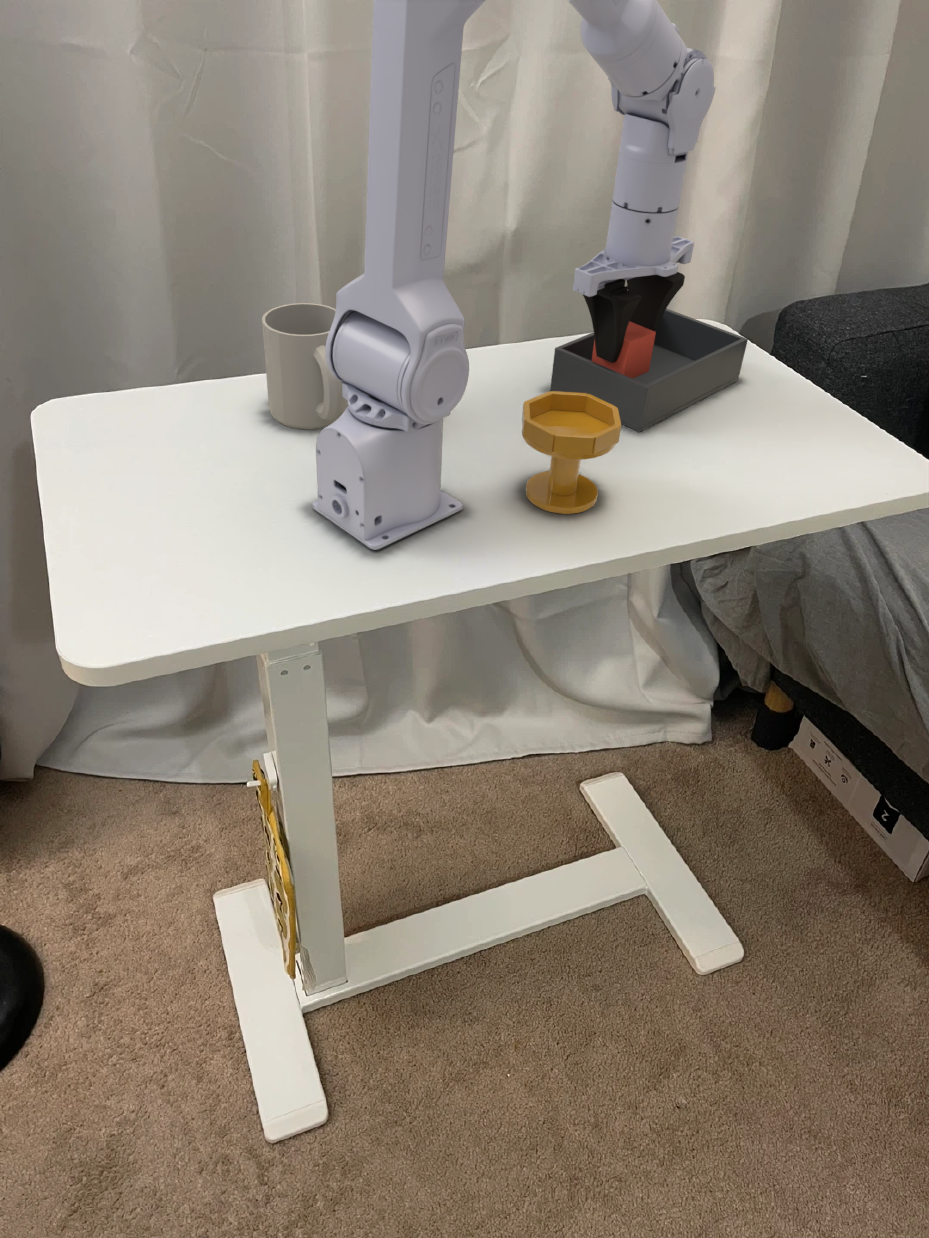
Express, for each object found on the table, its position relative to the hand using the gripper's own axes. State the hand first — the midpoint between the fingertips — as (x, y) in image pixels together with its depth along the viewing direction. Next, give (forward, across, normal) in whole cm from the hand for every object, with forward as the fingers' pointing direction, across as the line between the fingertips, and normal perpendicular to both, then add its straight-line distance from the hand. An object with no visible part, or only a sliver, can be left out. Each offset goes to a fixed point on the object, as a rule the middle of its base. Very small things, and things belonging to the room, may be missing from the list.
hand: (621, 352), depth 94 cm
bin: (+5, +5, 0) cm, 7 cm away
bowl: (+5, -17, -8) cm, 19 cm away
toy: (+2, 0, 0) cm, 2 cm away
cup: (+5, -25, +15) cm, 30 cm away
